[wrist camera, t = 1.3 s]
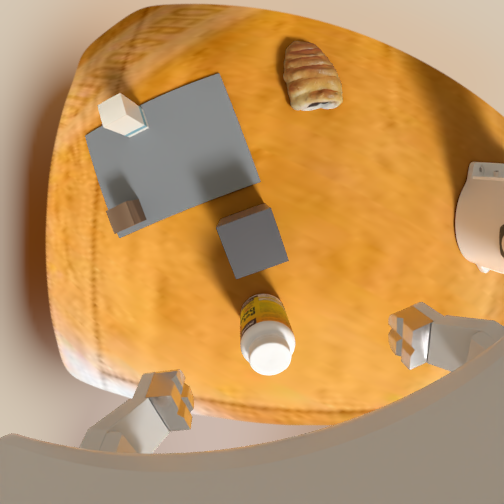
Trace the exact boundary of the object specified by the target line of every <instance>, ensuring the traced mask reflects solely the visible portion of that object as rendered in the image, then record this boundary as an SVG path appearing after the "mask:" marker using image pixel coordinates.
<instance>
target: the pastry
mask: <svg viewBox="0 0 504 504" xmlns="http://www.w3.org/2000/svg"><path fill="white" fill-rule="evenodd" d="M283 78H284V81H285V82H286V84H287V90H288V95H289V98H290V105H291V107H292V108H293V109H295V110H302V111H310V110H314V109H318V108H323V109H334V108H336V107H338V106H339V105H340V104H341V103H342V102H343V98H342V84H341V81H340V79H339V77H338V74H337V71H336V69H335V68H334V66H333V64H332V63H331V62H330V61H329V59H328V57H326V56H325V55H324V54H323V52H322V51H321V50H320V49H319V48H318V47H317V46H316V45H315V44H313V43H310V42H300V41H293V42H292V43H291V44H290V45H289V46H288V47H287V48H286V53H285V60H284V74H283Z"/></svg>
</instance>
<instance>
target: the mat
mask: <svg viewBox="0 0 504 504" xmlns="http://www.w3.org/2000/svg"><path fill="white" fill-rule="evenodd" d="M140 107H141V108H142V109H143V111H144V114H145V117H146V120H147V123H148V126H149V128H148V129H146V130H144V131H142V132H140V133H138V134H136V135H134V136H132V137H127V136H124V135H122V134H120V133H117V132H114V131H112V130H109V129H106V128H104V127H103V125H102V126H101V127H99V128H97V129H96V130H94V131H92V132H91V133H89V134H87V135H86V136H85V137H86V141H87V145H88V148H89V152H90V155H91V159H92V162H93V165H94V169H95V172H96V175H97V178H98V181H99V184H100V187H101V190H102V193H103V196H104V199H105V202H106V205H107V207H108V210H109V209H111V208H113V207H115V206H117V205H119V204H121V203H124V202H126V201H131V200H136V199H139V201H140V203H141V206H142V209H143V211H144V214H145V217H146V219H147V220H145V221H143V222H140V223H138V224H136V225H134V226H131V227H129V228H127V229H125V230H122V231H120V232H118V233H117V234H118V236H119V238H121V237H123V236H126V235H128V234H130V233H132V232H135V231H137V230H139V229H141V228H144V227H146V226H148V225H151V224H153V223H155V222H158V221H160V220H162V219H165V218H167V217H170V216H172V215H174V214H177V213H179V212H182V211H184V210H187V209H189V208H192V207H194V206H197V205H199V204H202V203H204V202H207V201H210V200H212V199H215V198H217V197H220V196H223V195H225V194H228V193H231V192H234V191H236V190H239V189H242V188H245V187H247V186H250V185H253V184H256V183H259V182H261V181H260V179H259V176H258V173H257V170H256V168H255V165H254V162H253V159H252V157H251V154H250V151H249V149H248V146H247V143H246V141H245V138H244V135H243V133H242V130H241V127H240V125H239V122H238V120H237V117H236V114H235V112H234V109H233V107H232V104H231V102H230V99H229V97H228V94H227V91H226V89H225V86H224V84H223V81H222V79H221V77H220V74H219V73H218V74H215V75H212V76H209V77H207V78H204V79H201V80H198V81H196V82H193V83H190V84H188V85H185V86H183V87H180V88H178V89H175V90H173V91H171V92H168V93H166V94H164V95H161V96H159V97H157V98H155V99H152V100H150V101H148V102H146V103H144V104H142V105H140Z"/></svg>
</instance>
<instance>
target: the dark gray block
mask: <svg viewBox="0 0 504 504" xmlns="http://www.w3.org/2000/svg"><path fill="white" fill-rule="evenodd" d="M216 229H217V232H218V234H219V237H220V239H221V242H222V245H223V247H224V250H225V252H226V255H227V257H228V260H229V262H230V265H231V267H232V270H233V272H234V275H235V278H236V279H239V278H242V277H244V276H247V275H250V274H253V273H256V272H259V271H261V270H264V269H267V268H270V267H273V266H275V265H278V264H281V263H284V262H286V261H289V260H288V257H287V254H286V251H285V248H284V245H283V242H282V239H281V236H280V233H279V230H278V227H277V225H276V222H275V219H274V216H273V213H272V210H271V208H270V207H269V206H267V205H266V204H265V203H263V204H260V205H257V206H254V207H252V208H249V209H246V210H243V211H241V212H238V213H235V214H232V215H230V216H227V217H224V218H222V219H220V221H219V223H218V225H217V227H216Z"/></svg>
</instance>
